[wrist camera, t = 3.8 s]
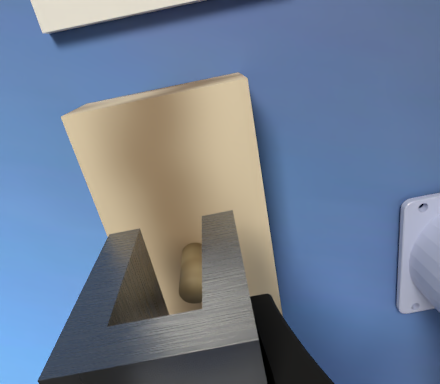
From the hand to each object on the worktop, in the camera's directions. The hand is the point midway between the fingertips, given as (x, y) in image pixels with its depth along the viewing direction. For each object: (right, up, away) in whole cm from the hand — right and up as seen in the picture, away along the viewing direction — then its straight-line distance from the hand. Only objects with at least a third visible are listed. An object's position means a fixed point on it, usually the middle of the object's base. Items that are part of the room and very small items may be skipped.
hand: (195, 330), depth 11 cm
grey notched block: (0, 0, +1) cm, 1 cm away
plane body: (-1, +3, +7) cm, 7 cm away
